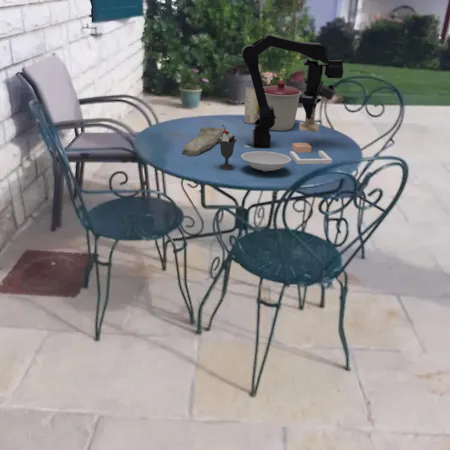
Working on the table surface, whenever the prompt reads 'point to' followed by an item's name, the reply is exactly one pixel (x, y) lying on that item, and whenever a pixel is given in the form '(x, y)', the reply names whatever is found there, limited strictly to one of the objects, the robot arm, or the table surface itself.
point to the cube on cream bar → (309, 124)
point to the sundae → (226, 147)
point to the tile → (301, 147)
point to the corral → (324, 160)
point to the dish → (265, 160)
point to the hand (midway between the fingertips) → (309, 118)
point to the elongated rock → (203, 141)
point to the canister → (283, 104)
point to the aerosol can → (251, 105)
